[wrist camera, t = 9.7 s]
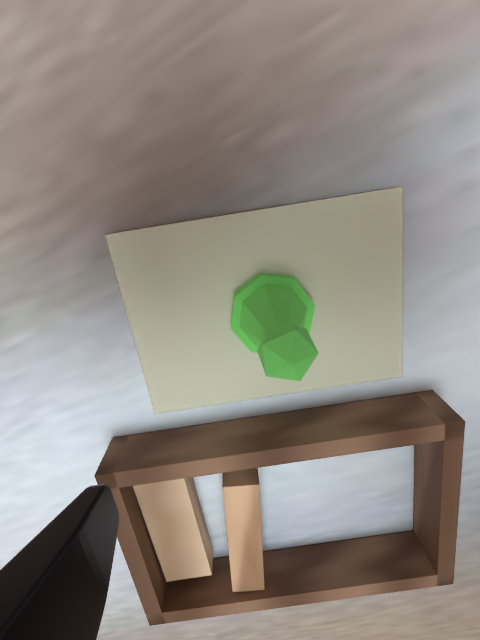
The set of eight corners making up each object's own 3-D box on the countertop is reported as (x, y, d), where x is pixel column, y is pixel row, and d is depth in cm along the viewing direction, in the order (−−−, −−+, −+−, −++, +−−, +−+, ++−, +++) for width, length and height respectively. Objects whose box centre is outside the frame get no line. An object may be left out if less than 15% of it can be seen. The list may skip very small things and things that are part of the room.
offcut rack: (432, 390, 21) (465, 421, 18) (427, 539, 25) (453, 583, 22) (112, 438, 21) (94, 475, 18) (158, 576, 25) (149, 625, 22)
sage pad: (397, 187, 17) (402, 186, 16) (398, 372, 20) (402, 376, 20) (108, 233, 17) (105, 235, 17) (156, 409, 21) (154, 413, 20)
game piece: (218, 284, 18) (213, 327, 12) (302, 260, 17) (338, 292, 12) (242, 359, 19) (248, 429, 13) (320, 338, 19) (359, 400, 13)
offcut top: (223, 451, 22) (255, 449, 22) (232, 549, 25) (260, 547, 25) (222, 487, 19) (259, 484, 19) (232, 592, 22) (264, 589, 22)
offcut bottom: (184, 441, 22) (180, 464, 20) (213, 546, 25) (211, 575, 23) (136, 449, 22) (128, 473, 20) (171, 552, 25) (166, 581, 23)
